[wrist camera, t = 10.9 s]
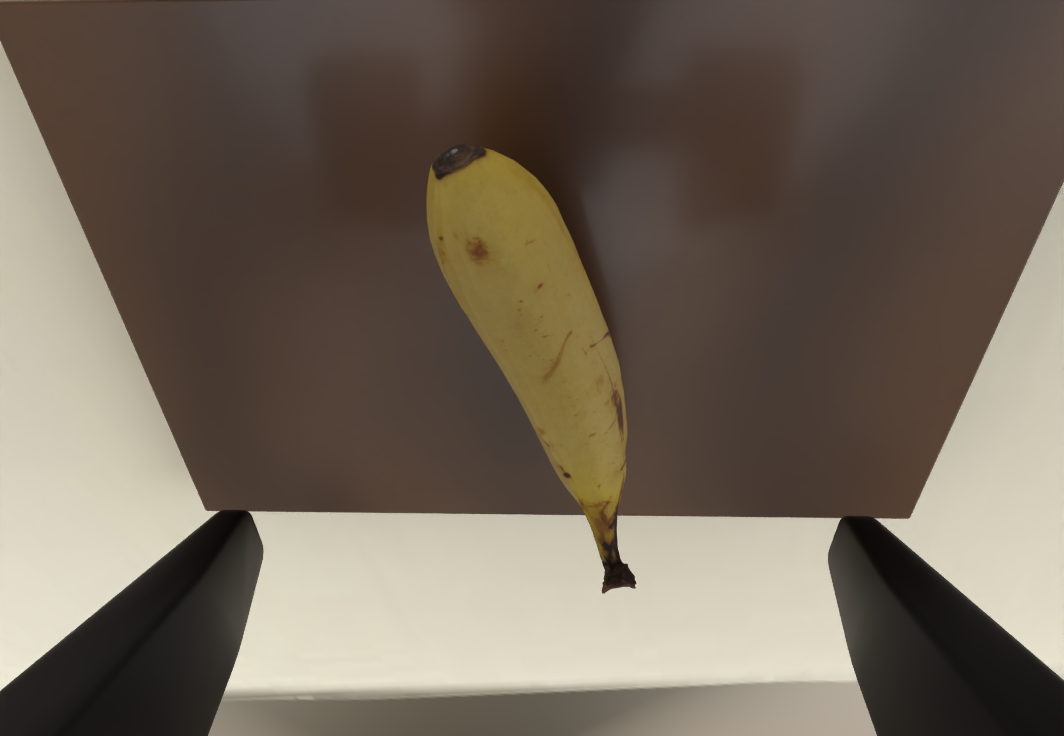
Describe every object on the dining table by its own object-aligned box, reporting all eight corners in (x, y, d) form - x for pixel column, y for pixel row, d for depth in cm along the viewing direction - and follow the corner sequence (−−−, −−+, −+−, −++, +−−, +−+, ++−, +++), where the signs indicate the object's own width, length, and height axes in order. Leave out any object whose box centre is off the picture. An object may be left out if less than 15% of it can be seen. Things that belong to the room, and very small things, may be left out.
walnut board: (1107, -25, 12) (1156, -18, 11) (892, 488, 19) (910, 519, 18) (25, -7, 13) (-19, 2, 12) (222, 481, 20) (205, 511, 19)
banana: (418, 110, 12) (369, 185, 9) (540, 70, 12) (534, 134, 9) (564, 479, 18) (566, 609, 15) (652, 462, 18) (674, 591, 14)
